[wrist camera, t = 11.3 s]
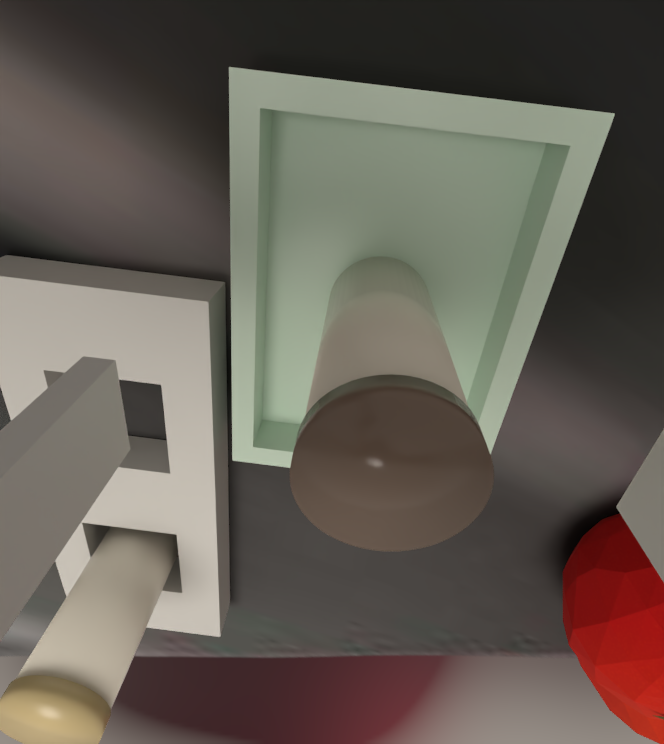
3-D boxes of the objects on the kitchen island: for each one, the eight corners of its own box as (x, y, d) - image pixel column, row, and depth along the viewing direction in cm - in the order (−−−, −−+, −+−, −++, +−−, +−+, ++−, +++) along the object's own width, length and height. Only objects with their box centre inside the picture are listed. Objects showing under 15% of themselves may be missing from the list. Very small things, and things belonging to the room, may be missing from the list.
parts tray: (249, 74, 16) (228, 66, 14) (578, 114, 16) (614, 113, 14) (245, 425, 24) (232, 460, 22) (466, 453, 24) (476, 491, 22)
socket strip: (6, 255, 20) (-310, 377, 11) (225, 281, 20) (100, 429, 11) (92, 584, 32) (-22, 780, 23) (230, 601, 32) (173, 805, 23)
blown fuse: (332, 247, 19) (296, 385, 9) (442, 261, 19) (521, 414, 9) (321, 345, 21) (284, 538, 11) (419, 358, 21) (464, 562, 11)
